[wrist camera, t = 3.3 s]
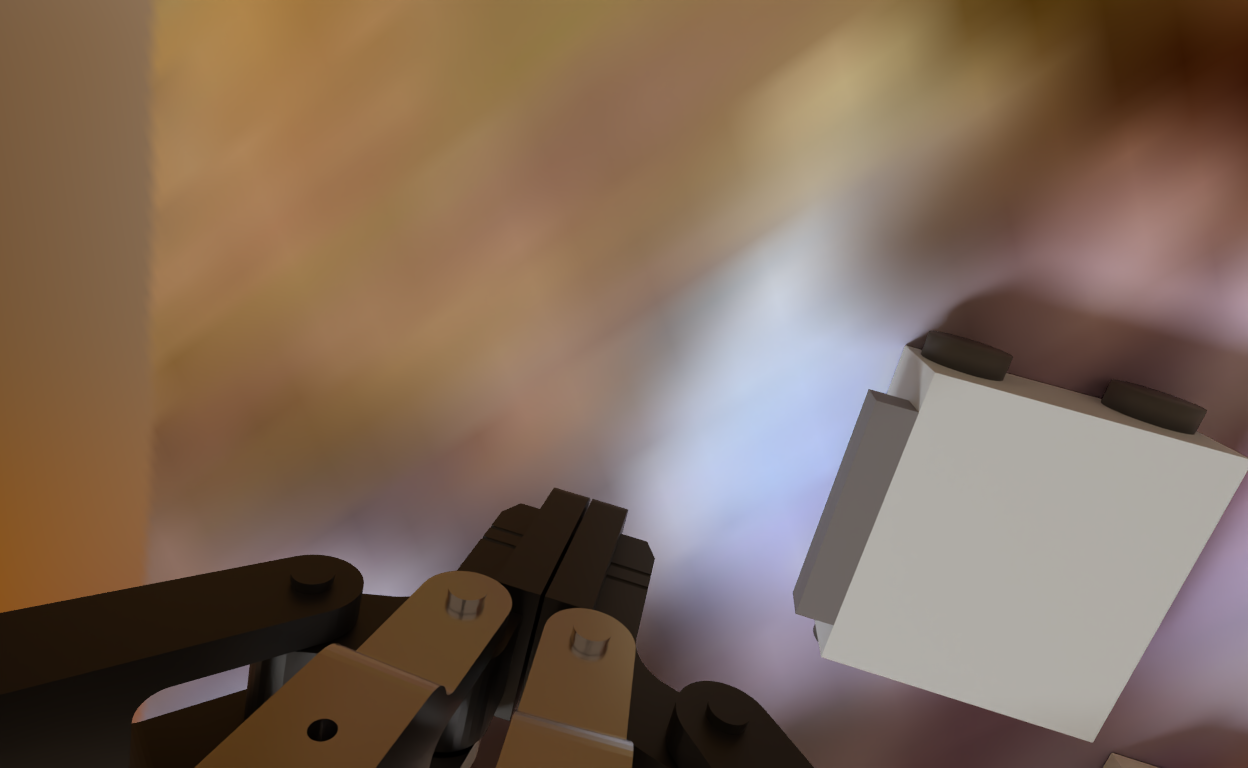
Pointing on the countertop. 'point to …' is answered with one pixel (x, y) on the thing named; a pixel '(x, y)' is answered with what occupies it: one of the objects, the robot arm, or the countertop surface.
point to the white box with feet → (1011, 534)
